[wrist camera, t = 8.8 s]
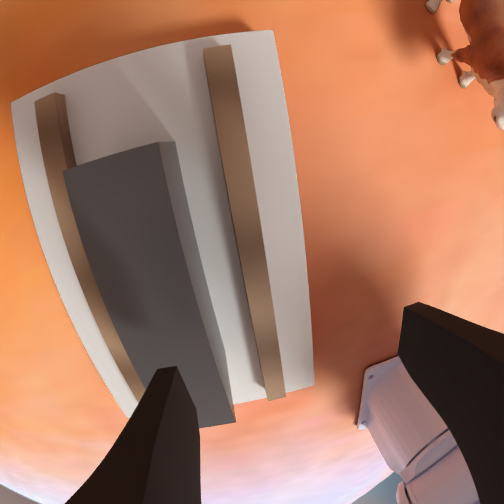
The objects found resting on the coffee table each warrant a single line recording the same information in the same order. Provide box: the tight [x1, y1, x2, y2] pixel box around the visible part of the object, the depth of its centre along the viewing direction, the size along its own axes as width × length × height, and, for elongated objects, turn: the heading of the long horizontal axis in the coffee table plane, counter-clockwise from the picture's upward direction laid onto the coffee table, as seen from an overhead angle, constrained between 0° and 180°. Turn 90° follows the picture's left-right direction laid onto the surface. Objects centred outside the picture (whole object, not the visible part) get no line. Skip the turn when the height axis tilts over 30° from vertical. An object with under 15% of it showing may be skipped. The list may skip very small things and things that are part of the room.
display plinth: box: [11, 30, 314, 418], centre depth 16 cm, size 22×14×3 cm, turn 9°
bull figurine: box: [425, 0, 504, 130], centre depth 11 cm, size 4×13×8 cm, turn 179°
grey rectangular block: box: [62, 142, 236, 428], centre depth 13 cm, size 12×3×6 cm, turn 9°
